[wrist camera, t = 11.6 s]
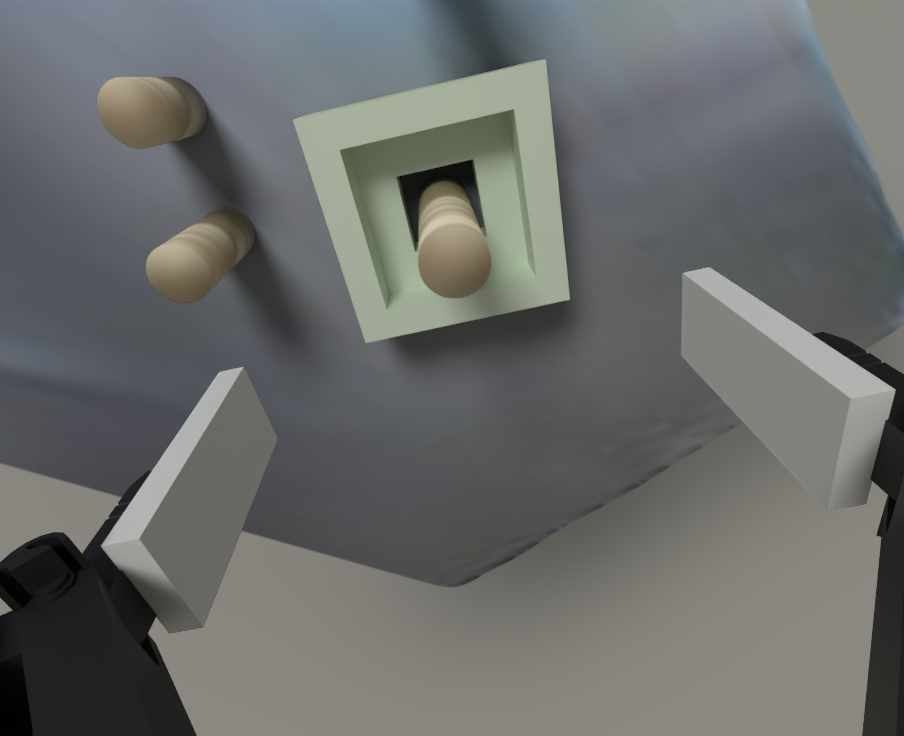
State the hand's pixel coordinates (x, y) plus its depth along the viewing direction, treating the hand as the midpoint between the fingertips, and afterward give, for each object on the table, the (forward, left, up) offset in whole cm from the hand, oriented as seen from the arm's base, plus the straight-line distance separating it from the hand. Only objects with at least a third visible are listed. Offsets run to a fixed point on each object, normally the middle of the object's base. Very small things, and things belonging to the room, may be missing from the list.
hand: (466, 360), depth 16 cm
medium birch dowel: (-1, -15, -24) cm, 28 cm away
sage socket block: (0, 0, -24) cm, 24 cm away
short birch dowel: (-9, -15, -24) cm, 29 cm away
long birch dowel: (0, 0, -24) cm, 24 cm away
